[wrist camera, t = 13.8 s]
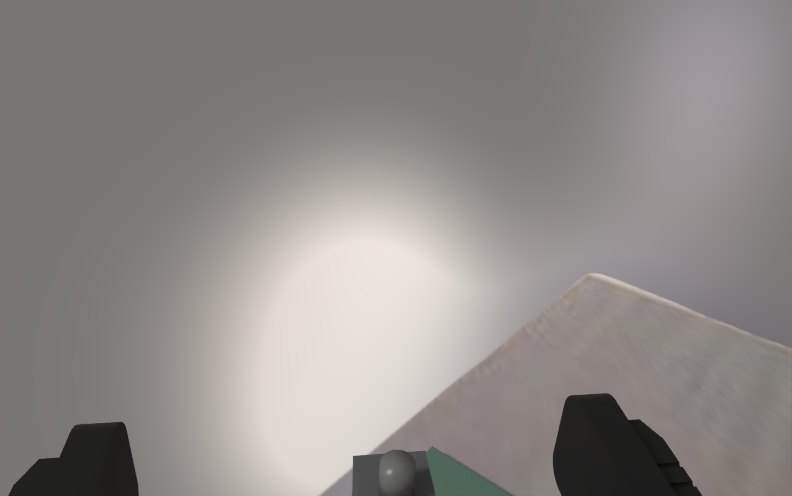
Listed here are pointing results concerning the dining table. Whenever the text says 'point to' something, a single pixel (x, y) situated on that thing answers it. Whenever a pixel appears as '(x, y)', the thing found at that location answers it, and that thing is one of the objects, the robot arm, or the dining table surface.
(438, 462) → the board
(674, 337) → the dining table surface
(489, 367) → the dining table surface
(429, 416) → the dining table surface
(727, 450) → the dining table surface
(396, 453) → the block
